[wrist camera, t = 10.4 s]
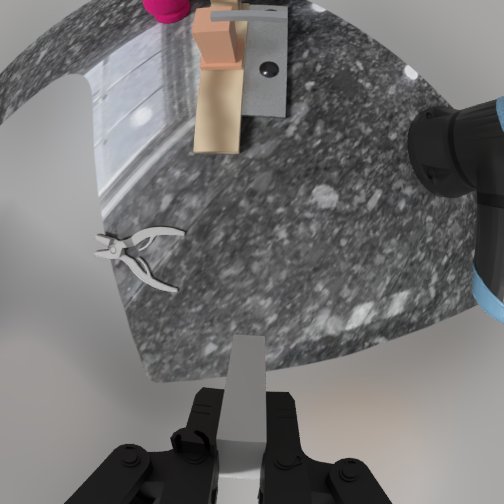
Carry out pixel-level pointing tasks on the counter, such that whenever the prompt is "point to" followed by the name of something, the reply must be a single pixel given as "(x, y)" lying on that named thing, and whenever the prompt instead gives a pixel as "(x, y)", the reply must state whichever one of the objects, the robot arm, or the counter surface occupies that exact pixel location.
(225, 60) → the slide leg
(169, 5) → the pepper mill
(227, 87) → the rail
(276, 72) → the hole plate
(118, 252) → the pliers
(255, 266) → the counter surface
